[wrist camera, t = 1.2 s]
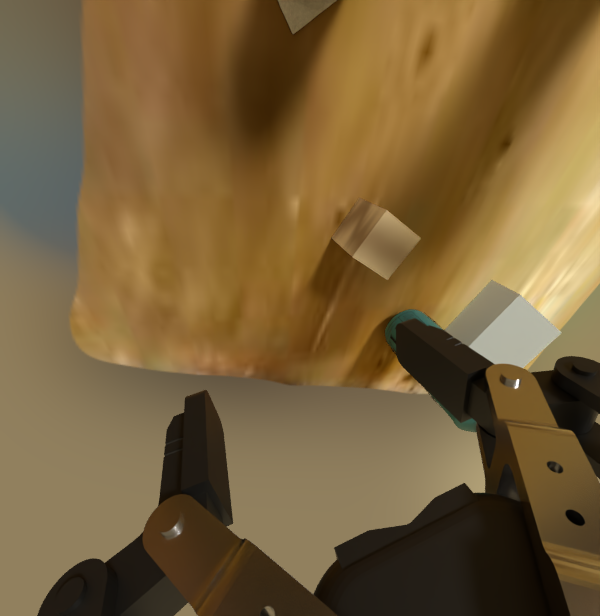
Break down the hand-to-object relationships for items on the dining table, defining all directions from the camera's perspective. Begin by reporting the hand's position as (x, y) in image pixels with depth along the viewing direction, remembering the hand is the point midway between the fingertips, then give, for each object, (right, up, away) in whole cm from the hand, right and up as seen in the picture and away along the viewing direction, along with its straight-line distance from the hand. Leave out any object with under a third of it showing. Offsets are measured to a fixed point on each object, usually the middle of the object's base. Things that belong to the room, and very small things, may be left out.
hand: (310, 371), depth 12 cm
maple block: (+6, +11, +21) cm, 24 cm away
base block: (+28, -1, +35) cm, 45 cm away
